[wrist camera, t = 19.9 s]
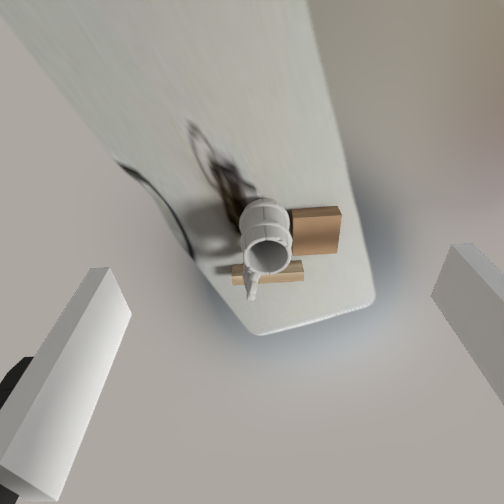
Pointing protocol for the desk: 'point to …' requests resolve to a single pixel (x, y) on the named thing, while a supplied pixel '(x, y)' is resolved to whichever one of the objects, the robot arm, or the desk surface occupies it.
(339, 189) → the desk surface
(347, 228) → the desk surface
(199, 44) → the desk surface
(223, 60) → the desk surface
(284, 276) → the rail
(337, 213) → the slab
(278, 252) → the mug
